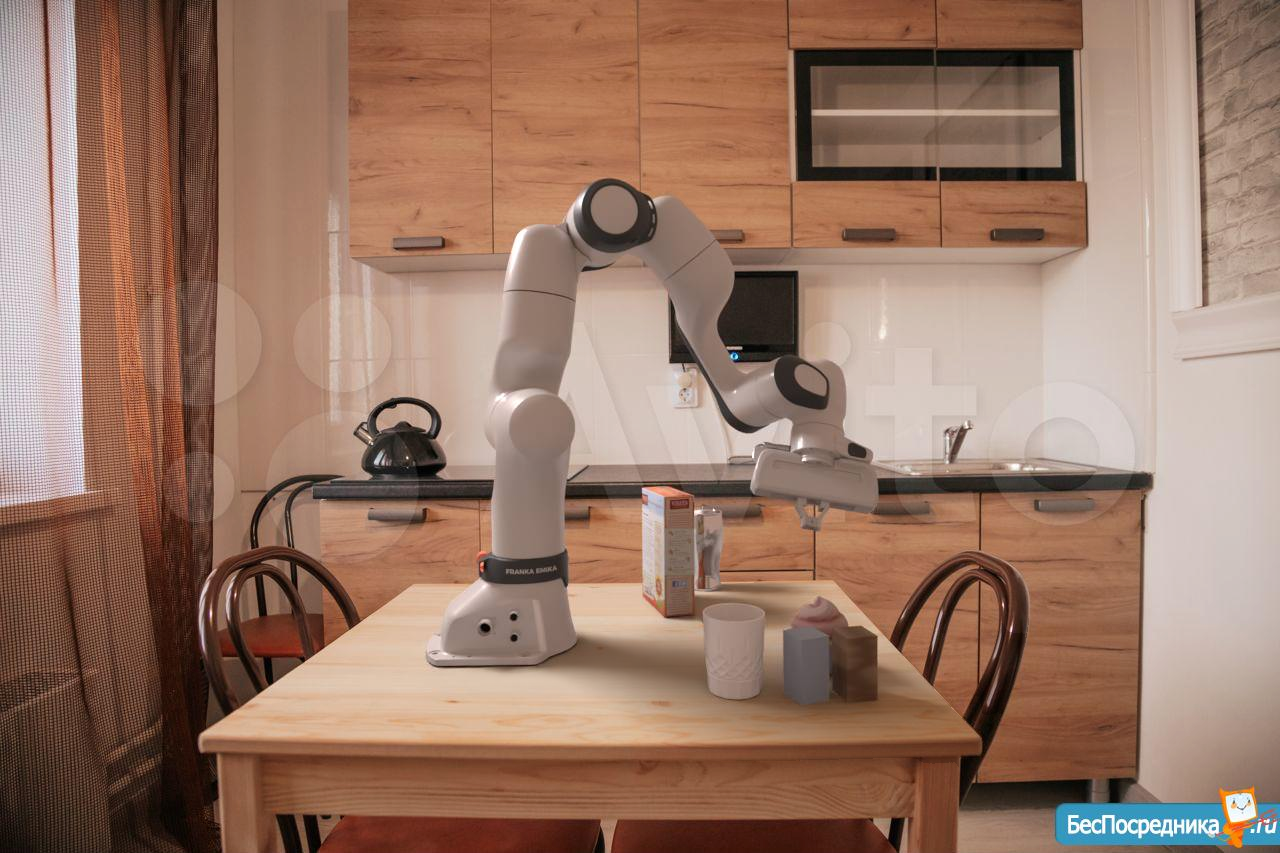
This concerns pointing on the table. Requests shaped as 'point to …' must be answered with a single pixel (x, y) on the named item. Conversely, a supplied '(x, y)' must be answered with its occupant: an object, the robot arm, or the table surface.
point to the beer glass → (707, 548)
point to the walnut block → (855, 664)
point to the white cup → (734, 649)
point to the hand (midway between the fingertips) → (810, 529)
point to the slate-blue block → (806, 665)
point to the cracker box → (668, 550)
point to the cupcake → (820, 620)
